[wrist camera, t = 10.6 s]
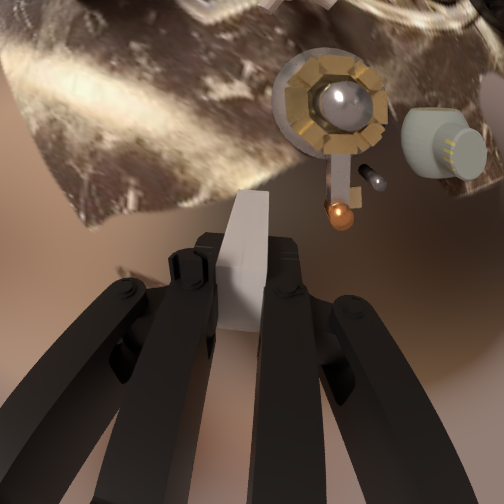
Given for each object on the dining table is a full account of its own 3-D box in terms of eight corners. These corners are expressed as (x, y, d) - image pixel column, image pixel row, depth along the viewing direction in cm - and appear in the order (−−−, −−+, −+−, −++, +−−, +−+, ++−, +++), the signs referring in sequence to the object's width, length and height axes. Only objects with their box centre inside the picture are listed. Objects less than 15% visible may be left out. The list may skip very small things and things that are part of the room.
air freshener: (395, 169, 31) (432, 198, 23) (388, 108, 27) (429, 117, 19) (457, 162, 29) (499, 188, 21) (454, 107, 25) (500, 119, 17)
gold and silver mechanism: (375, 48, 23) (403, 38, 16) (390, 203, 34) (415, 230, 27) (260, 56, 25) (257, 43, 19) (292, 216, 36) (296, 248, 29)
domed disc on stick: (280, 58, 24) (282, 52, 20) (375, 62, 23) (390, 59, 19) (291, 216, 34) (294, 232, 31) (374, 213, 33) (385, 229, 30)
